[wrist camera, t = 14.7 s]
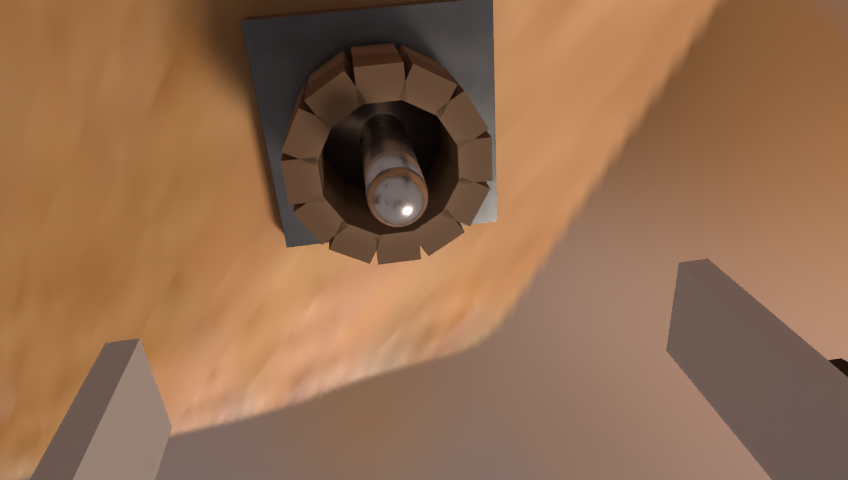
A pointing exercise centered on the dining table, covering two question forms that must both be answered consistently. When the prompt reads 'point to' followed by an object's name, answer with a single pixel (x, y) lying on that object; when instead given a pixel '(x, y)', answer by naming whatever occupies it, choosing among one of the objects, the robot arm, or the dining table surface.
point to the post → (376, 122)
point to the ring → (347, 205)
